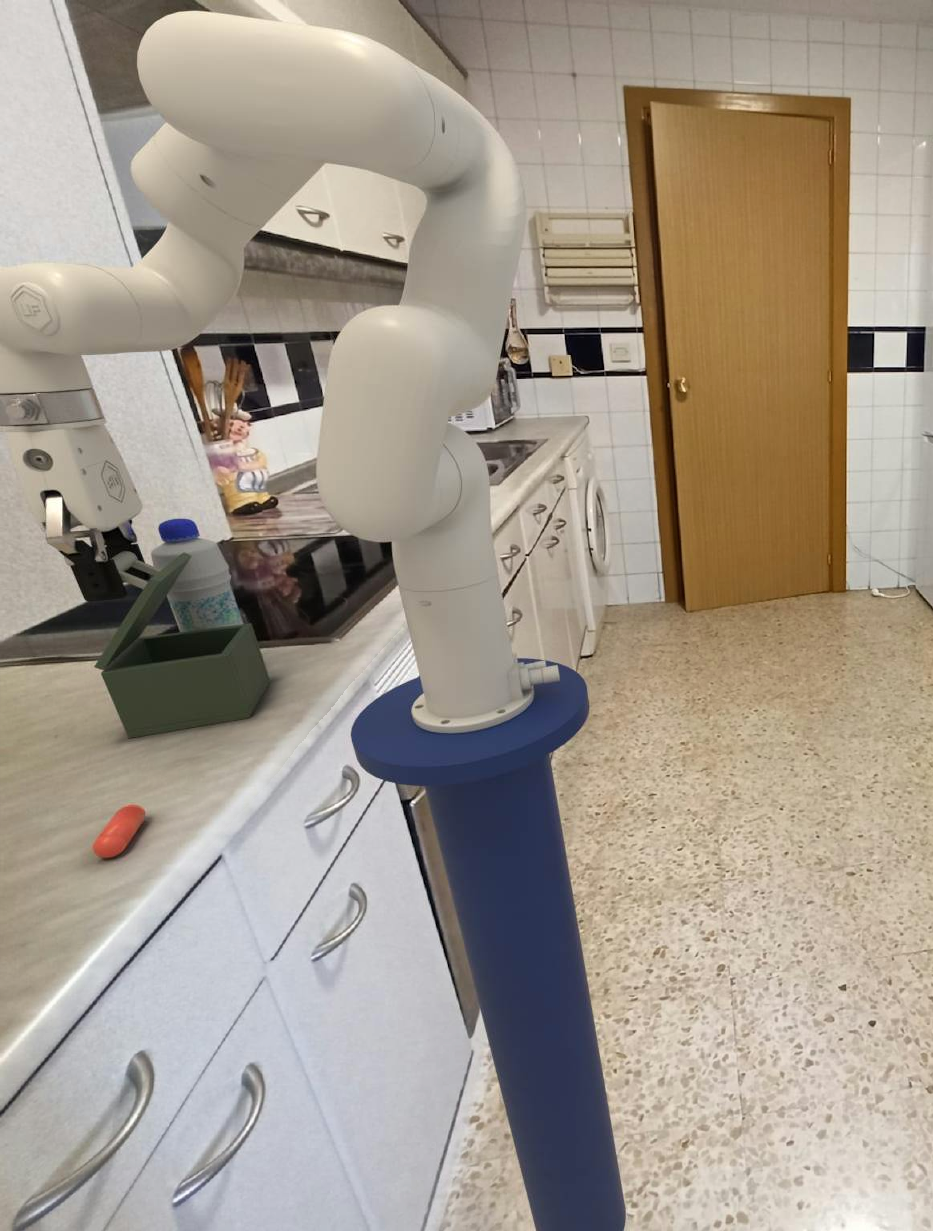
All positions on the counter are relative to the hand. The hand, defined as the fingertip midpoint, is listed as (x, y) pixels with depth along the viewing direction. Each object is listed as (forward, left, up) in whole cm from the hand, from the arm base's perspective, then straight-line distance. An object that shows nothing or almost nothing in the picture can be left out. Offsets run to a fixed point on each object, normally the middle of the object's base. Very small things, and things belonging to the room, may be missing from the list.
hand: (119, 588), depth 75 cm
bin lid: (-2, 0, -3) cm, 3 cm away
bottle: (-3, -9, -15) cm, 18 cm away
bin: (-3, 0, -15) cm, 15 cm away
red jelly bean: (-4, +25, -15) cm, 30 cm away
